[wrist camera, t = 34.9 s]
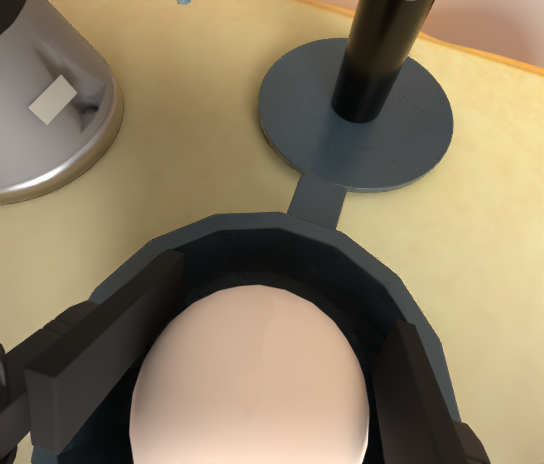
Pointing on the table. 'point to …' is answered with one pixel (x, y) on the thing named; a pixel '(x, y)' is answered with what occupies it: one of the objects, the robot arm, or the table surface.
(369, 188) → the lid
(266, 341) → the egg
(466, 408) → the table surface
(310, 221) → the pot
